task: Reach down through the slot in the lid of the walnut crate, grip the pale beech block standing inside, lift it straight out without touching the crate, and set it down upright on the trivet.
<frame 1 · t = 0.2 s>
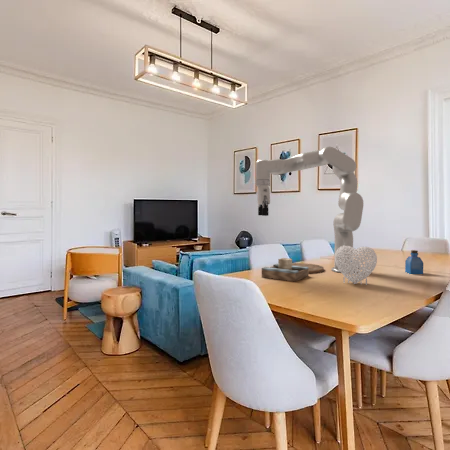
hand: (263, 215, 178), 31 cm above the table, tool pointing down, fingers open, 9 cm apart
crate: (285, 276, 168), on the table
beech block: (285, 276, 168), resting in crate
decorative heart: (355, 284, 151), on the table
trivet: (300, 270, 187), on the table
perfume bottle: (414, 273, 174), on the table
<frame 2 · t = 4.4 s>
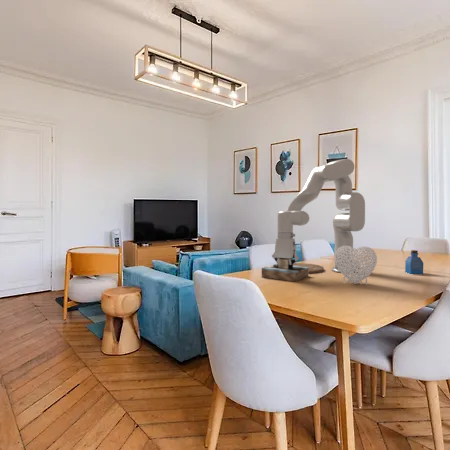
hand: (285, 271, 168), 3 cm above the table, tool pointing down, fingers closed on beech block, 5 cm apart
beech block: (285, 276, 168), resting in crate, touching gripper
everything else where it was.
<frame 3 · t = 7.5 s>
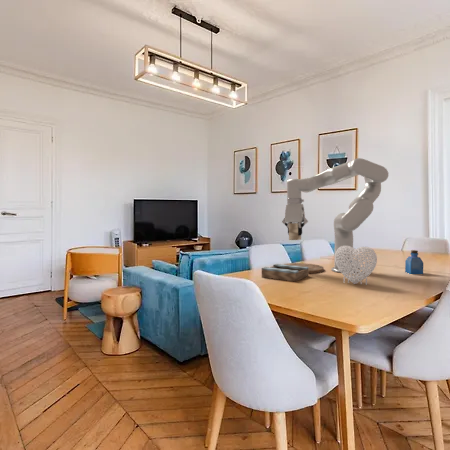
hand: (295, 234, 182), 20 cm above the table, tool pointing down, fingers closed on beech block, 5 cm apart
beech block: (295, 239, 182), point 17 cm above the table, touching gripper
everything else where it was.
when the fingers open (6 cm above the table, at t = 10.5 s): beech block drops 2 cm, resting on trivet.
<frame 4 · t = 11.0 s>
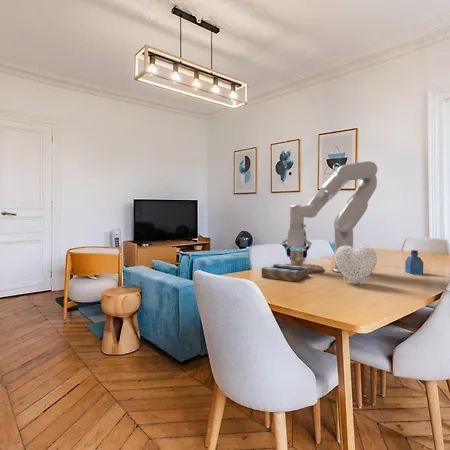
hand: (296, 257, 187), 7 cm above the table, tool pointing down, fingers open, 9 cm apart
beech block: (296, 267, 188), point 1 cm above the table, touching trivet
trivet: (300, 270, 187), on the table, touching beech block
everything else where it was.
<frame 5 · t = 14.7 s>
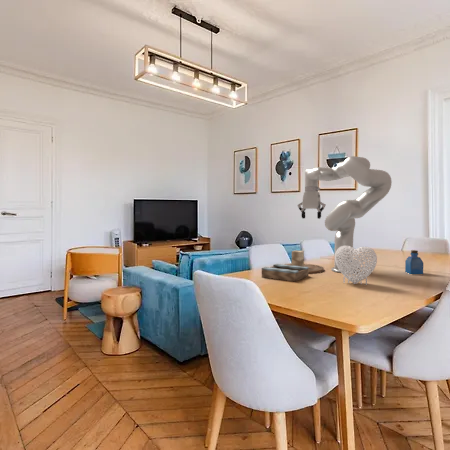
hand: (311, 218, 200), 28 cm above the table, tool pointing down, fingers open, 9 cm apart
nothing on the table moved.
at the end: beech block inside the target area on the trivet (1.7 cm from its centre), point 2.1 cm above the trivet's base; beech block tilted 0°; beech block touching trivet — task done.
